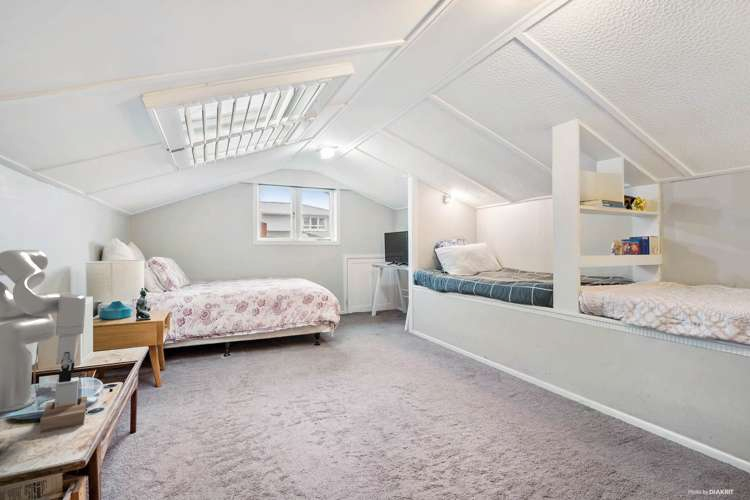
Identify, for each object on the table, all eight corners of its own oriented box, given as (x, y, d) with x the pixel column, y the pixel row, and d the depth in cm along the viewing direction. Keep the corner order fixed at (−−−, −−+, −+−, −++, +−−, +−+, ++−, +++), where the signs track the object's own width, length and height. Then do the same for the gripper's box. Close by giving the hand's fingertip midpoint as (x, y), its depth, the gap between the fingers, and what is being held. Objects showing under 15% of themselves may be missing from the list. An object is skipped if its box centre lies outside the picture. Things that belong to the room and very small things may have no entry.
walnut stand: (46, 415, 125) (47, 402, 125) (86, 408, 132) (86, 396, 132) (39, 433, 114) (40, 419, 114) (83, 424, 121) (84, 411, 121)
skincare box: (53, 418, 122) (55, 383, 122) (55, 412, 125) (56, 379, 125) (76, 413, 126) (78, 380, 125) (77, 409, 129) (79, 376, 129)
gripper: (59, 324, 130) (55, 370, 130) (52, 336, 116) (48, 387, 116) (85, 323, 134) (81, 367, 135) (81, 334, 121) (77, 384, 121)
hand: (66, 376), depth 125 cm, fingers open, 9 cm apart
